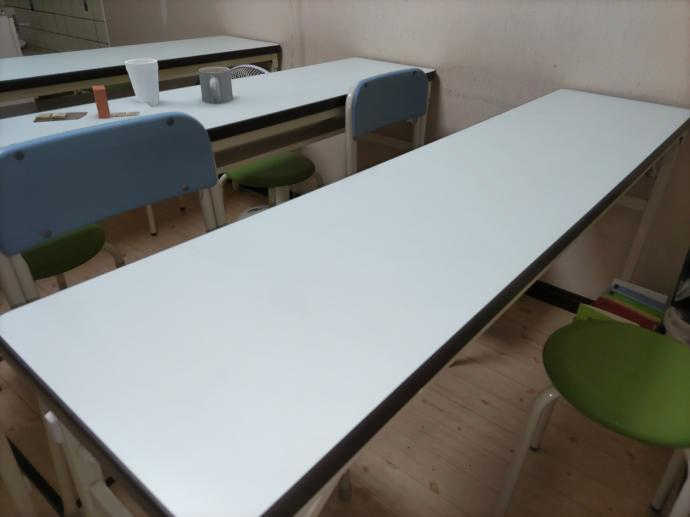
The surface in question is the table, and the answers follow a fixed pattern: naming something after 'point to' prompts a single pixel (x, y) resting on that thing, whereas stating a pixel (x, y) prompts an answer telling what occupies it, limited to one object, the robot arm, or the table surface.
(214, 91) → the coffee mug
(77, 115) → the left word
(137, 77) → the foam cup
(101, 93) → the orange rectangular block
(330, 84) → the table surface
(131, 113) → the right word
